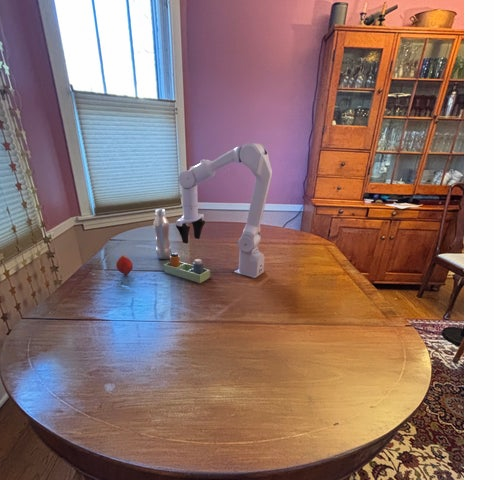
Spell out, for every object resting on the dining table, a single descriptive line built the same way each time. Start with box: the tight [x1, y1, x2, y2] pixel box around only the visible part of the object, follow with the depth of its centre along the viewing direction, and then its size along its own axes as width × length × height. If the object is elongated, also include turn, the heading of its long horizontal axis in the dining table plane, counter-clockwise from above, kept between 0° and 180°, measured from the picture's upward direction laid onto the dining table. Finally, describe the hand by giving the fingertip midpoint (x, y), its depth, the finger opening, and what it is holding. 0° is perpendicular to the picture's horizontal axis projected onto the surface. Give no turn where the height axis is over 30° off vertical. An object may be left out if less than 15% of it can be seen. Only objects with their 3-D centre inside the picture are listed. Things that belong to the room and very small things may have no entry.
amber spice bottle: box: [169, 251, 181, 267], centre depth 114 cm, size 4×4×7 cm
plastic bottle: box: [153, 208, 172, 260], centre depth 124 cm, size 6×7×20 cm
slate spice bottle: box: [192, 258, 204, 275], centre depth 109 cm, size 4×4×7 cm
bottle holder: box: [163, 261, 211, 284], centre depth 112 cm, size 17×6×4 cm, turn 57°
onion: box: [115, 254, 134, 276], centre depth 111 cm, size 6×6×8 cm
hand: (191, 240), depth 120 cm, fingers open, 7 cm apart
